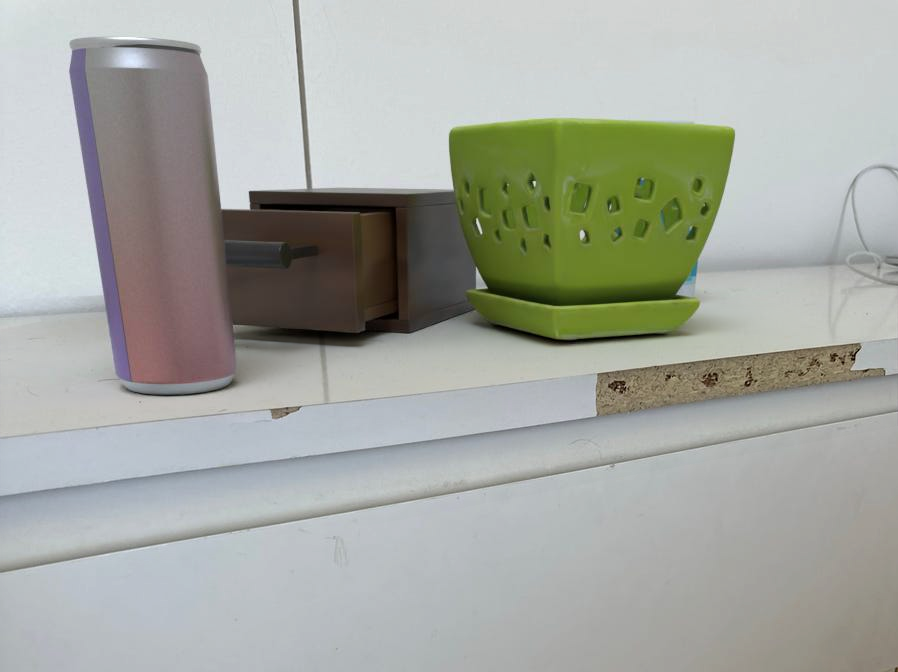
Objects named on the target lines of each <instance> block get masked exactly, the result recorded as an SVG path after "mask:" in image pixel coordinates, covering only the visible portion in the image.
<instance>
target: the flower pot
mask: <svg viewBox="0 0 898 672" xmlns="http://www.w3.org/2000/svg"><path fill="white" fill-rule="evenodd" d="M735 139H736V130H735V128H733V127H731V126H728V125H714V124H713V125H712V124H701V123H694V124H690V123H668V122H652V121H637V120H629V119H628V120H626V119H607V118H579V117H578V118H577V117H552V118H548V117H547V118H533V119H532V118H531V119H521V120H510V121H497V122H488V123H480V124H469V125H460V126H454V127H452V128H451V129H450V130H449V133H448V153H449V165H450V173H451V181H452V186H453V187H452V188H453V189H452V190H454V195H455V201H456V206H457V210H458V215H459V219H460V222H461V226H462V230H463V233H464V236H465V239H466V242H467V245H468V248H469V251H470V253H471V256H472V258H473V261H474V263H475V265H476V270H477V271H478V273H479V276H480V277H481V279H482V281H483V282H484V284H485V286H486V288H476V289H472V290H467V291H466V296H467V298H468V300H469V302H470V303H471V304H472V306H473V307H474V308H475V309H474V310H476V312H477V313H478V314H479V315H480V316H481V317H482V318H483V319H485V320H486V321H488V322H489V324H491V325H499V326H503V327H506V328H508V329H509V328H510V329H514V330H518V331H521V332H525V333H529V334H533V335H536V336H537V335H538V336H542V337H545V338H549V339H555V340H562V341H576V340H580V339H593V338H594V339H595V338H608V337H609V338H610V337H623V336H635V335H649V334H650V335H651V334H656V335H657V334H658V335H667V334H668V333H669V332H672V331H675V330H677V329H678V328H680V327H681V326H683V325H684V324H685V323H686V322H688V320H689V319H690V318H692V316H693V315H694V314H695V313H696V312H697V311H698V309H699V307H700V305H701V301H700V299H699V298H697V297H694V296H693V297H687V296H682V295H676V294H677V292H678V291H679V289H680V288H681V286H682V285H683V284H684V282H685V281H686V279H687V278H688V276H689V274H690V273H691V271H692V269H693V267H694V266H695V264H696V262H697V260H698V261H699V259H700V256H701V254H702V252H703V250H704V248H705V245H706V243H707V241H708V239H709V237H710V234H711V233H712V232H711V231H712V229H713V227H714V224H715V221H716V218H717V216H718V212H719V210H720V207H721V203H722V200H723V197H724V194H725V189H726V184H727V181H728V178H729V173H730V168H731V163H732V162H731V161H732V157H733V153H734V147H735V146H734V145H735ZM642 178H644V183H643V185H642V186H641V179H642ZM534 182H535V184H534ZM636 197H637V198H636ZM639 198H640V199H639ZM611 203H612V207H611ZM703 205H704V206H703ZM677 207H678V209H677ZM661 212H662V215H663V220H664V225H663V222H662V218H661ZM477 221H478V222H477ZM477 223H479V226H478V224H477ZM691 226H693V227H692V229H691V231H690V233H689V234H688V235H687V232H688V230H689V228H690V227H691ZM479 227H480V229H481V231H480V229H479ZM618 228H619V235H618V234H617V233H616V231H617V229H618ZM581 231H583V233H584V236H583V238H581Z"/></svg>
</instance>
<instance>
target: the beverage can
mask: <svg viewBox="0 0 898 672" xmlns="http://www.w3.org/2000/svg"><path fill="white" fill-rule="evenodd" d="M69 48H70V49H71V55H70V56H71V57H70V63H69V69H68V74H69V80H70V86H71V92H72V99H73V105H74V111H75V119H76V126H77V131H78V132H77V133H78V138H79V145H80V151H81V157H82V164H83V170H84V177H85V183H86V189H87V196H88V203H89V209H90V216H91V223H92V228H93V234H94V241H95V249H96V254H97V260H98V262H97V263H98V267H99V272H100V273H99V275H100V280H101V287H102V295H103V299H104V300H103V301H104V306H105V312H106V313H105V314H106V318H107V320H106V321H107V326H108V333H109V340H110V346H111V352H112V358H113V365H114V370H115V375H116V376H117V378H118V380H119V381H120V382H121V383H122V385H123V386H124V387H125V388H126V389H127V390H129V391H130V392H134V393H137V394H144V395H155V396H156V395H157V396H177V395H178V396H179V395H192V394H193V395H194V394H202V393H207V392H208V393H209V392H212V391H216V390H220V389H223V388H225V387H228V386H229V385H230V384H232V381H233V379H234V377H235V375H236V372H237V370H238V363H237V353H236V344H235V342H236V341H235V332H234V325H233V322H232V312H231V302H230V292H229V282H228V272H227V262H226V252H225V242H224V232H223V222H222V212H221V209H222V203H221V194H220V185H219V184H220V183H219V173H218V172H219V171H218V164H217V156H216V155H217V154H216V144H215V143H216V142H215V133H214V124H213V123H214V121H213V112H212V104H211V103H212V102H211V94H210V93H211V92H210V84H209V75H208V73H207V70H206V67H205V64H204V63H203V60H202V57H201V54H202V49H201V46H199V45H198V44H196V43H193V42H187V41H182V40H176V39H167V38H154V37H152V38H151V37H140V36H138V37H135V36H89V37H78V38H73V39H71V40H70V41H69Z"/></svg>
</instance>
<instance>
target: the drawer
mask: <svg viewBox="0 0 898 672" xmlns="http://www.w3.org/2000/svg"><path fill="white" fill-rule="evenodd" d="M221 212H222V222H223V232H224V242H225V252H226V262H227V272H228V282H229V292H230V302H231V312H232V322H233V326H247V327H260V328H261V327H263V328H278V329H292V330H305V331H307V330H308V331H323V332H337V333H338V332H340V333H354V334H358V333H360V332H364V331H366V330H365V321H368V320H372V319H375V318H378V317H381V316H385V315H388V314H391V313H394V312H397V311H399V306H398V269H397V232H396V208H358V207H316V206H305V207H291V208H276V209H262V210H250V208H248V209H247V208H246V209H245V208H221Z"/></svg>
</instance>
